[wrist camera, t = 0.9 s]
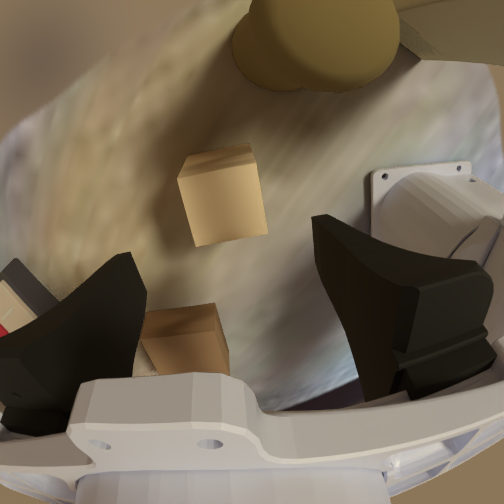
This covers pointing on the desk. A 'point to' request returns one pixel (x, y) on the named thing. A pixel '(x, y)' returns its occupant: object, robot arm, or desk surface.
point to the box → (453, 29)
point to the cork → (316, 43)
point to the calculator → (21, 297)
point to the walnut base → (186, 340)
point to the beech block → (222, 195)
